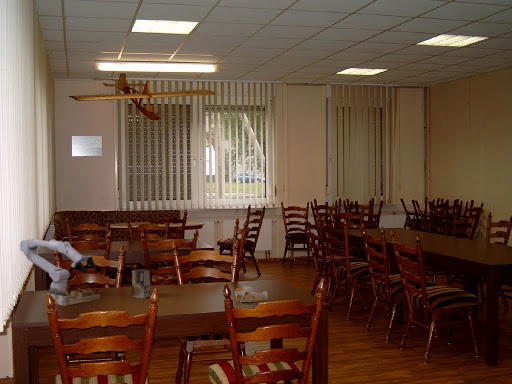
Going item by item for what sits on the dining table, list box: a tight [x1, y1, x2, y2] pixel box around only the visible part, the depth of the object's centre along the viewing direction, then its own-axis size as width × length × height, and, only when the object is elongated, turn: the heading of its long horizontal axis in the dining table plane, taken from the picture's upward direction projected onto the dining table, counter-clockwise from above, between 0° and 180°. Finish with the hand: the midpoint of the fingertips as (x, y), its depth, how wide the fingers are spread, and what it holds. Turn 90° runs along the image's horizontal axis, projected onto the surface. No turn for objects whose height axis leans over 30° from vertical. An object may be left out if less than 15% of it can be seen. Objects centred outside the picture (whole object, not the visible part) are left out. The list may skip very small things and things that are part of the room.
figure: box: [233, 285, 268, 303], centre depth 392 cm, size 17×18×9 cm
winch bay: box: [46, 285, 101, 307], centre depth 388 cm, size 16×25×11 cm, turn 146°
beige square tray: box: [70, 289, 95, 299], centre depth 393 cm, size 9×9×4 cm
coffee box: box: [131, 268, 151, 299], centre depth 403 cm, size 9×6×16 cm
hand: (91, 270), depth 394 cm, fingers open, 7 cm apart
